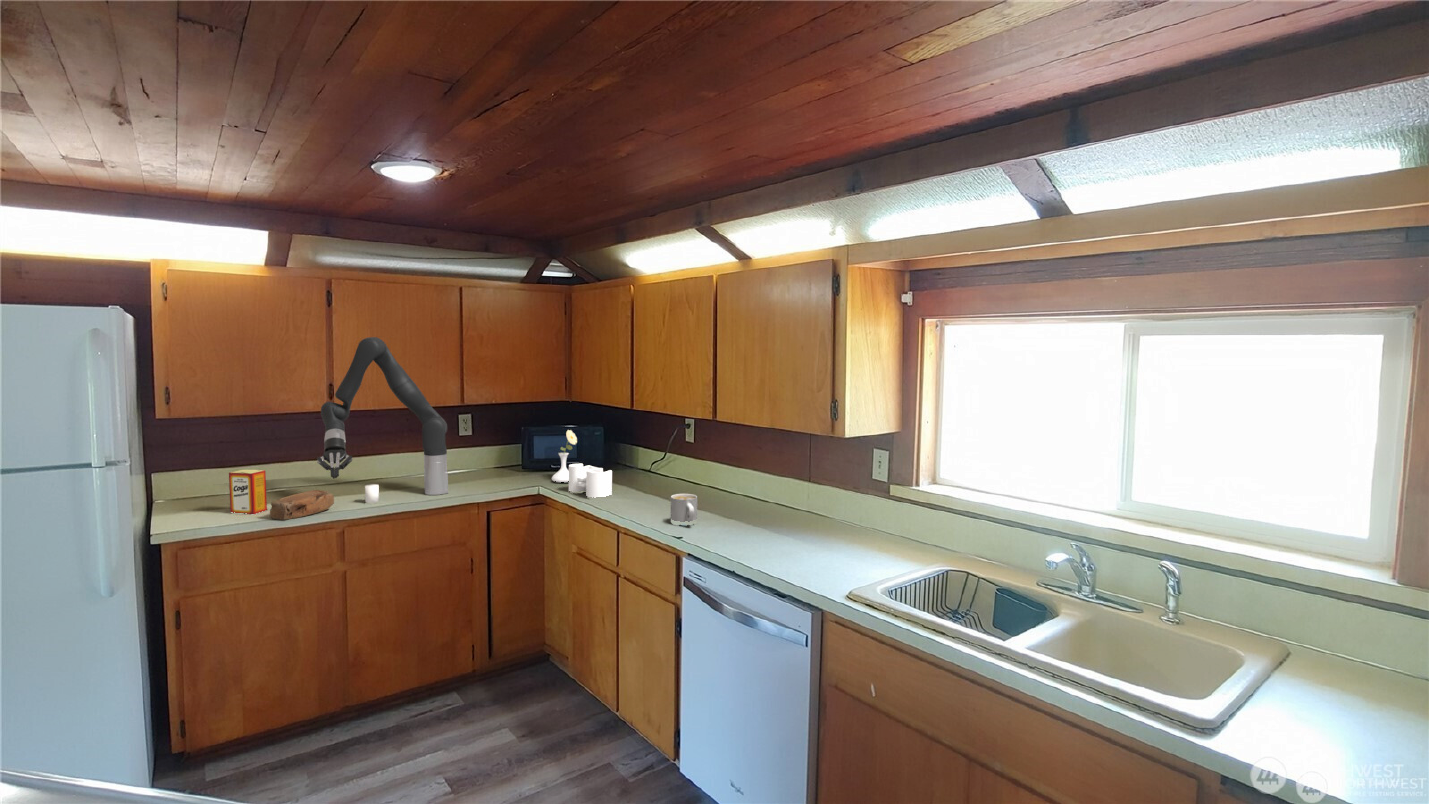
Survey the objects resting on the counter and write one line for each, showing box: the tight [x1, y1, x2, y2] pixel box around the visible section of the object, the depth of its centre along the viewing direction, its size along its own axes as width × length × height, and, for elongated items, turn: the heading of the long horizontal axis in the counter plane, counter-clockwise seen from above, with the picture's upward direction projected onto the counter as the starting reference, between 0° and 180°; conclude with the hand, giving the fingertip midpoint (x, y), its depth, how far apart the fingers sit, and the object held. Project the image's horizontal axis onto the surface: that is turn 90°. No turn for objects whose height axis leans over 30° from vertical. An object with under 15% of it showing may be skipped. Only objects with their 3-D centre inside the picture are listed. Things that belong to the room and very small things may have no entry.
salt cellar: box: [364, 483, 380, 504], centre depth 273 cm, size 5×5×7 cm
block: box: [269, 489, 335, 521], centre depth 253 cm, size 11×8×20 cm
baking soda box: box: [228, 469, 268, 515], centre depth 254 cm, size 10×6×16 cm
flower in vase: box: [551, 429, 578, 483], centre depth 321 cm, size 13×11×25 cm
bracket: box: [568, 463, 613, 498], centre depth 294 cm, size 25×10×12 cm, turn 44°
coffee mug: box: [670, 493, 698, 522], centre depth 249 cm, size 13×10×10 cm
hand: (334, 477), depth 264 cm, fingers closed
